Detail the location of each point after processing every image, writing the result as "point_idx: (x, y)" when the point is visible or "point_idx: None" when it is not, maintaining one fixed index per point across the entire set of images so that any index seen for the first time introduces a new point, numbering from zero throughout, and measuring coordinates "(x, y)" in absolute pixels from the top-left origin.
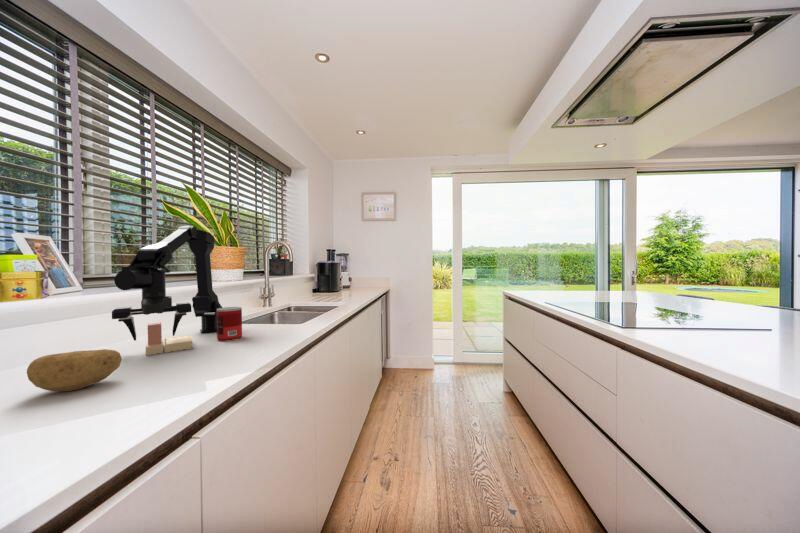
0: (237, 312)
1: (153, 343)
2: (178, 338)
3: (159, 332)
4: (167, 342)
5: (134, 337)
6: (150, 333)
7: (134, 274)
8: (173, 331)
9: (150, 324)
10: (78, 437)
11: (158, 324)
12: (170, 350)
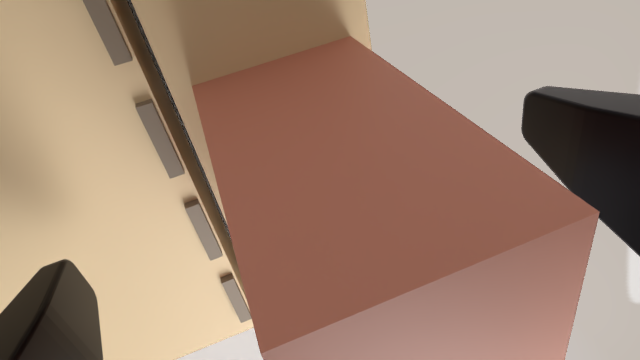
0: None
1: (292, 57)
2: None
3: (251, 174)
4: (115, 115)
5: (578, 93)
6: (403, 115)
7: None
8: (26, 309)
9: (525, 335)
10: None
11: (331, 314)
12: None
